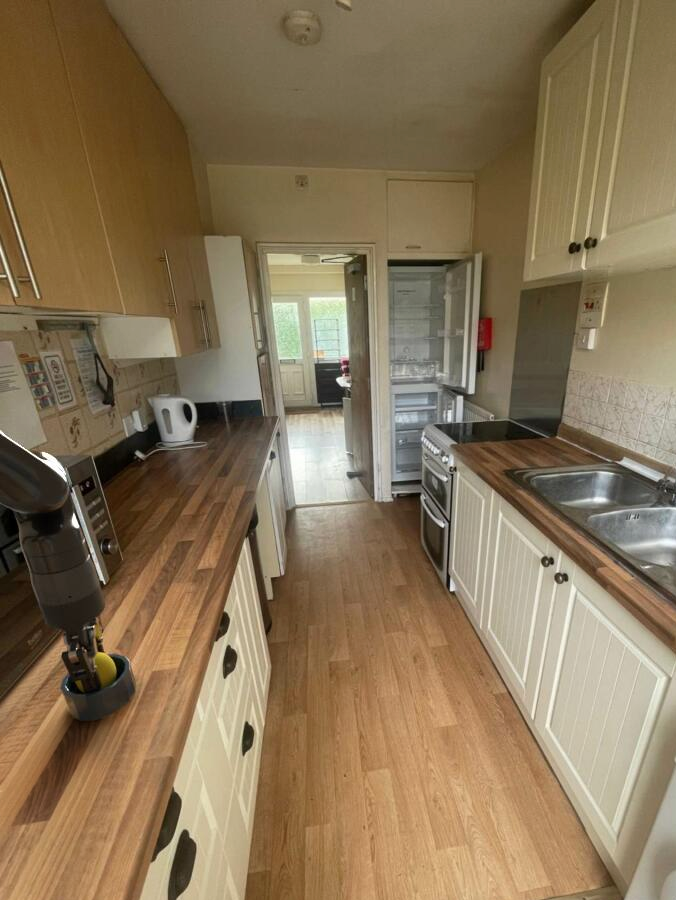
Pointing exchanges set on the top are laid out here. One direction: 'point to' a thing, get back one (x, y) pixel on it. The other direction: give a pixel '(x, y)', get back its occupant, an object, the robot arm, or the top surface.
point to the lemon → (102, 671)
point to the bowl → (101, 693)
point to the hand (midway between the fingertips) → (96, 675)
